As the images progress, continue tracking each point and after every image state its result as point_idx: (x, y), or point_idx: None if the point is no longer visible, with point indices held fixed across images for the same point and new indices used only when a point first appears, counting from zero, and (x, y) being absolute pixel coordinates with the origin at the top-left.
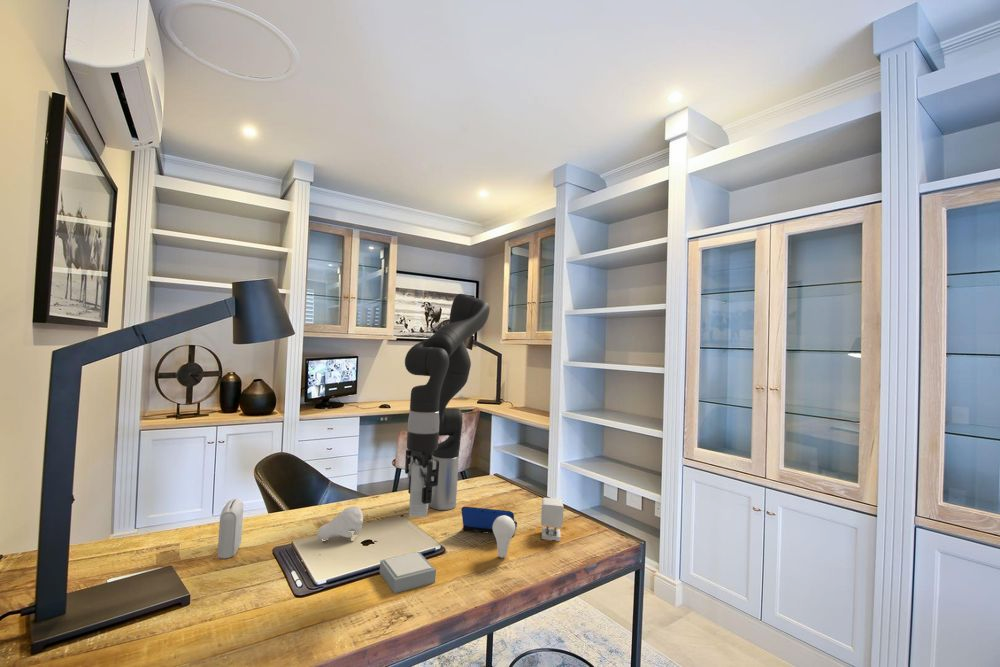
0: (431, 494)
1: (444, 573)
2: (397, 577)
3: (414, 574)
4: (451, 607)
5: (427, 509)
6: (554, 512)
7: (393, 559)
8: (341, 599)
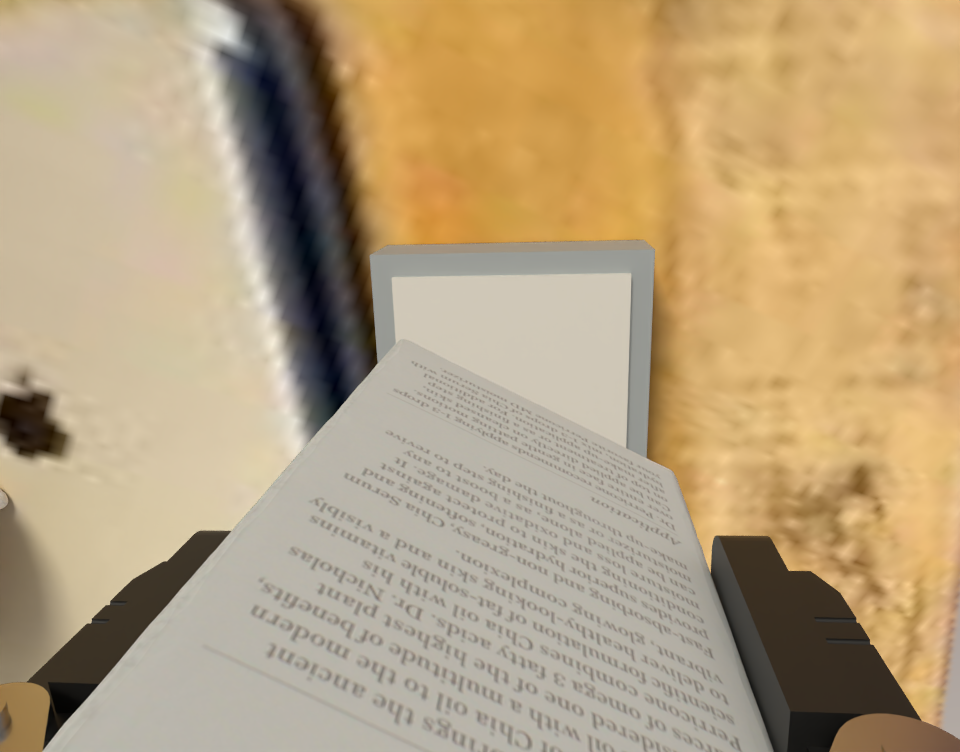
0: (873, 650)
1: (573, 138)
2: None
3: (642, 395)
4: (927, 263)
5: (576, 436)
6: None
7: None
8: None
